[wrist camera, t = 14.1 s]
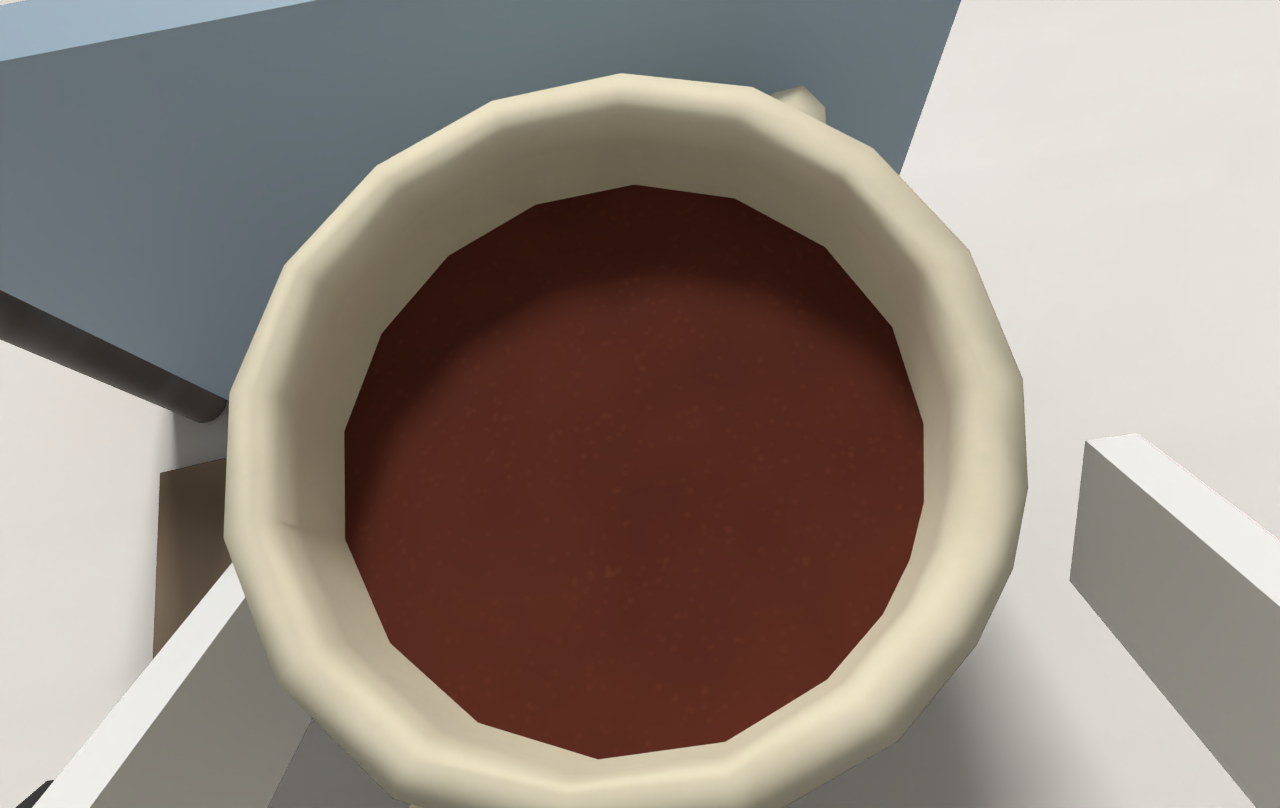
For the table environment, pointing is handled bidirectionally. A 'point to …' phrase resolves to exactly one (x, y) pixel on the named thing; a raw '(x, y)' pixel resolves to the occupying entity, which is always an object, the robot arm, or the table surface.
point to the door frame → (185, 495)
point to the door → (340, 126)
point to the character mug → (625, 455)
